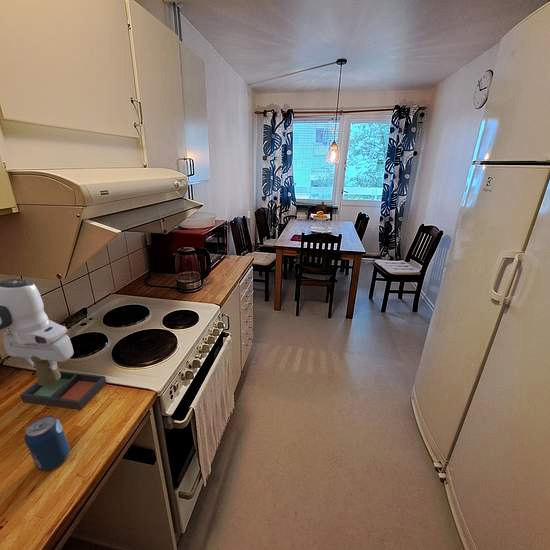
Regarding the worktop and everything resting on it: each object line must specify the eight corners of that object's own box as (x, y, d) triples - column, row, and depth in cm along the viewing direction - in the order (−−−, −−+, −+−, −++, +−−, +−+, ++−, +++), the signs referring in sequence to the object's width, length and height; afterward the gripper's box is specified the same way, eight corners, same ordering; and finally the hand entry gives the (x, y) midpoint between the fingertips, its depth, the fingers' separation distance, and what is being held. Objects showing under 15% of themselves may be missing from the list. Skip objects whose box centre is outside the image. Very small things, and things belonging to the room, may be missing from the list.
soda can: (76, 445, 76) (64, 411, 71) (62, 471, 69) (48, 436, 65) (47, 448, 75) (33, 414, 70) (30, 475, 68) (14, 440, 64)
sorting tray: (22, 402, 88) (19, 394, 87) (54, 376, 99) (51, 369, 98) (81, 410, 86) (78, 402, 85) (107, 383, 97) (105, 376, 96)
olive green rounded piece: (33, 387, 88) (23, 358, 84) (42, 374, 94) (33, 346, 89) (56, 384, 90) (47, 355, 86) (63, 371, 95) (55, 343, 91)
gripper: (-10, 333, 83) (6, 371, 88) (53, 339, 80) (66, 378, 86) (11, 322, 89) (25, 358, 94) (71, 327, 86) (82, 364, 91)
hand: (45, 368), depth 90 cm, fingers closed on olive green rounded piece, 4 cm apart
